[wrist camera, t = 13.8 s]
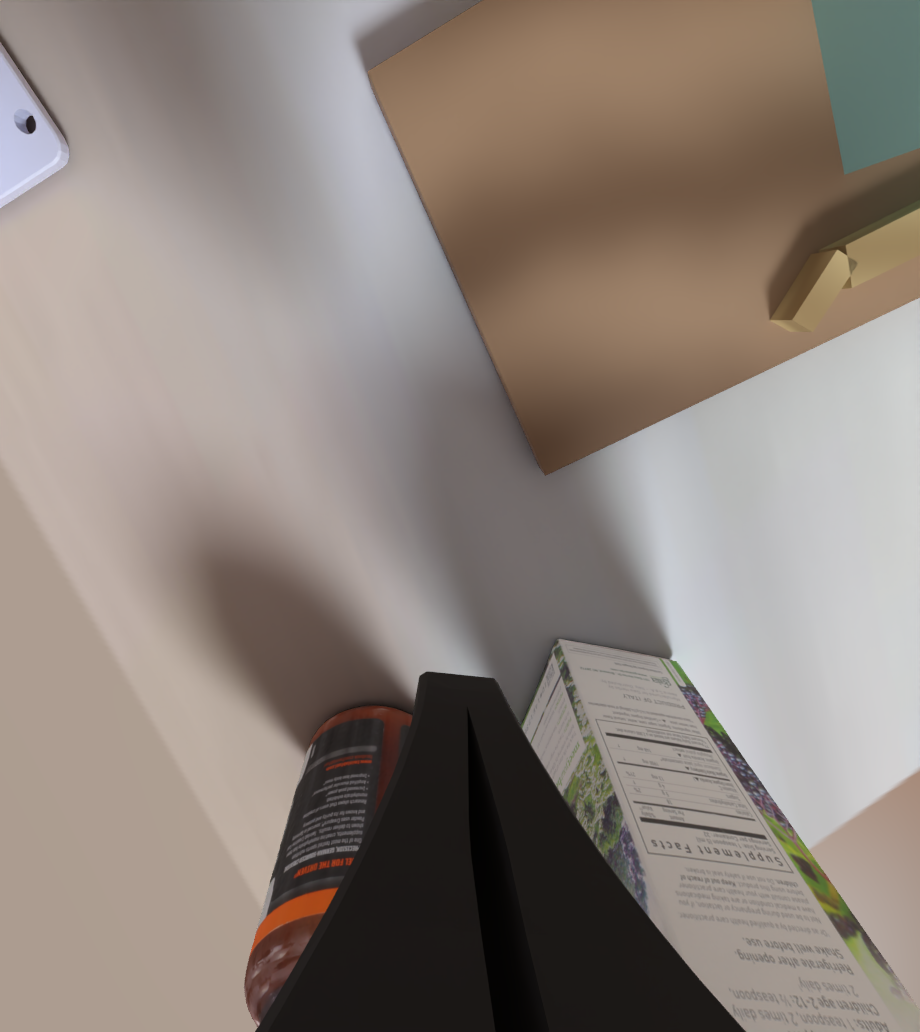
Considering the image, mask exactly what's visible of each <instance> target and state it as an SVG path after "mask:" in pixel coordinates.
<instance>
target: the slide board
mask: <svg viewBox="0 0 920 1032" xmlns="http://www.w3.org/2000/svg"><path fill="white" fill-rule="evenodd" d="M367 72H368V76H369V79H370V83H371V87H372V90H373V93H374V95H375V97H376V99H377V102H378V104H379V106H380V108H381V111H382V113H383V115H384V117H385V120H386V122H387V124H388V127H389V129H390V131H391V133H392V136H393V138H394V140H395V142H396V145H397V147H398V149H399V151H400V154H401V156H402V158H403V160H404V163H405V165H406V167H407V169H408V172H409V174H410V176H411V179H412V181H413V183H414V185H415V188H416V190H417V192H418V194H419V197H420V199H421V201H422V203H423V206H424V208H425V210H426V212H427V215H428V217H429V219H430V221H431V224H432V226H433V228H434V230H435V233H436V235H437V237H438V240H439V242H440V244H441V246H442V249H443V251H444V253H445V255H446V258H447V260H448V262H449V264H450V267H451V269H452V271H453V273H454V276H455V278H456V280H457V282H458V285H459V287H460V289H461V292H462V294H463V296H464V298H465V301H466V303H467V305H468V307H469V310H470V312H471V314H472V316H473V319H474V321H475V323H476V325H477V328H478V330H479V332H480V334H481V337H482V339H483V341H484V343H485V346H486V348H487V350H488V353H489V355H490V357H491V359H492V362H493V364H494V366H495V368H496V371H497V373H498V375H499V377H500V380H501V382H502V384H503V386H504V389H505V391H506V393H507V395H508V398H509V400H510V402H511V405H512V407H513V409H514V411H515V414H516V416H517V418H518V420H519V423H520V425H521V427H522V429H523V432H524V434H525V436H526V438H527V441H528V443H529V445H530V447H531V450H532V452H533V454H534V456H535V459H536V461H537V463H538V466H539V468H540V469H541V470H542V472H543V473H544V474H545V476H546V475H548V474H550V473H552V472H554V471H556V470H558V469H560V468H562V467H565V466H567V465H569V464H571V463H573V462H575V461H577V460H579V459H581V458H583V457H586V456H588V455H590V454H592V453H594V452H596V451H598V450H600V449H602V448H604V447H607V446H609V445H611V444H613V443H615V442H617V441H619V440H621V439H623V438H625V437H628V436H630V435H632V434H634V433H636V432H638V431H640V430H642V429H644V428H647V427H649V426H651V425H653V424H655V423H657V422H659V421H661V420H663V419H665V418H668V417H670V416H672V415H674V414H676V413H678V412H680V411H682V410H684V409H686V408H689V407H691V406H693V405H695V404H697V403H699V402H701V401H703V400H705V399H707V398H710V397H712V396H714V395H716V394H718V393H720V392H722V391H724V390H726V389H728V388H731V387H733V386H735V385H737V384H739V383H741V382H743V381H745V380H747V379H749V378H752V377H754V376H756V375H758V374H760V373H762V372H764V371H766V370H768V369H770V368H773V367H775V366H777V365H779V364H781V363H783V362H785V361H787V360H789V359H791V358H794V357H796V356H798V355H800V354H802V353H804V352H806V351H808V350H810V349H812V348H815V347H817V346H819V345H821V344H823V343H825V342H827V341H829V340H831V339H833V338H836V337H838V336H840V335H842V334H844V333H846V332H848V331H850V330H852V329H855V328H857V327H859V326H861V325H863V324H865V323H867V322H869V321H871V320H873V319H876V318H878V317H880V316H882V315H884V314H886V313H888V312H890V311H892V310H894V309H897V308H899V307H901V306H903V305H905V304H907V303H909V302H911V301H913V300H915V299H918V298H920V148H918V149H915V150H913V151H910V152H907V153H904V154H901V155H899V156H896V157H893V158H890V159H887V160H885V161H882V162H879V163H876V164H873V165H870V166H868V167H865V168H862V169H859V170H856V171H854V172H851V173H848V174H845V175H844V169H843V164H842V159H841V154H840V148H839V143H838V138H837V133H836V127H835V122H834V117H833V112H832V107H831V101H830V96H829V91H828V86H827V80H826V75H825V70H824V65H823V59H822V54H821V49H820V44H819V39H818V33H817V28H816V23H815V18H814V12H813V7H812V2H811V0H482V1H481V2H479V3H478V4H476V5H474V6H473V7H471V8H469V9H468V10H466V11H465V12H463V13H461V14H460V15H458V16H457V17H455V18H453V19H452V20H450V21H448V22H447V23H445V24H444V25H442V26H440V27H439V28H437V29H435V30H434V31H432V32H431V33H429V34H427V35H426V36H424V37H423V38H421V39H419V40H418V41H416V42H414V43H413V44H411V45H410V46H408V47H406V48H405V49H403V50H401V51H400V52H398V53H397V54H395V55H393V56H392V57H390V58H389V59H387V60H385V61H384V62H382V63H380V64H379V65H377V66H376V67H374V68H372V69H371V70H369V71H367Z"/></svg>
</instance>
